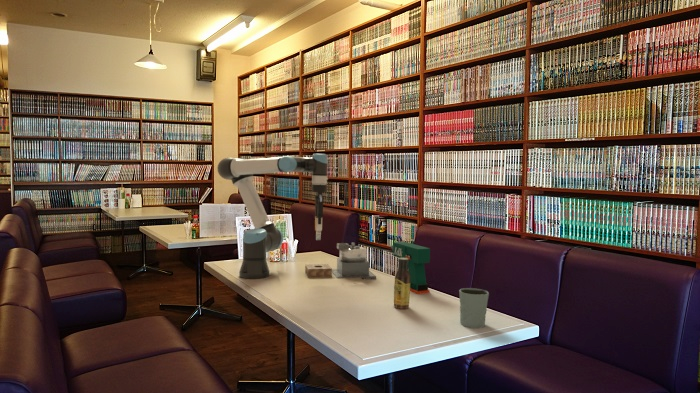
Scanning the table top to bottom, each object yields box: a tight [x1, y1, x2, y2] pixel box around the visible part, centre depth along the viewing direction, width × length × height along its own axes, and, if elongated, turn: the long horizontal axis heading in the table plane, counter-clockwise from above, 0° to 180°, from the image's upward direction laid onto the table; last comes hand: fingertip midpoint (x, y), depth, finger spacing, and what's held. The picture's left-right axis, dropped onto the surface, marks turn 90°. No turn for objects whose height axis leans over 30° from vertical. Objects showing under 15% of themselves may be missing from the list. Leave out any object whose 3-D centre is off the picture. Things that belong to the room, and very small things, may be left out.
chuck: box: [336, 242, 368, 262], centre depth 249 cm, size 15×14×9 cm
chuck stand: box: [332, 257, 377, 280], centre depth 250 cm, size 20×20×8 cm
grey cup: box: [458, 287, 490, 329], centre depth 172 cm, size 10×10×12 cm
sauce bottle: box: [393, 257, 411, 310], centre depth 192 cm, size 7×6×20 cm
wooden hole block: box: [304, 263, 333, 278], centre depth 246 cm, size 12×12×5 cm
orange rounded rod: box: [314, 215, 322, 241], centre depth 245 cm, size 4×4×12 cm
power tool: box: [389, 241, 431, 295], centre depth 229 cm, size 32×7×20 cm, turn 25°
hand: (318, 230), depth 245 cm, fingers closed on orange rounded rod, 3 cm apart
